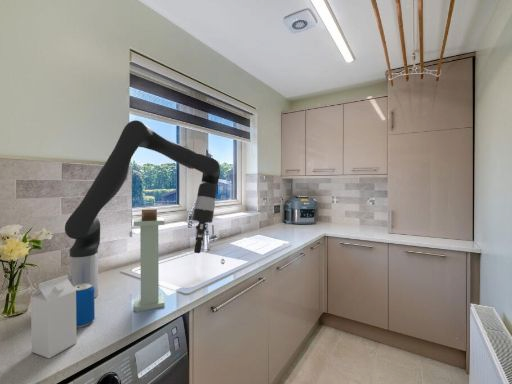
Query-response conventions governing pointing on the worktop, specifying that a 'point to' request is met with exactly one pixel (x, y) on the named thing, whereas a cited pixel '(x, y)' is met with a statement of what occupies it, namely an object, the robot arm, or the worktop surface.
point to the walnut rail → (149, 214)
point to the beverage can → (84, 304)
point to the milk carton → (53, 317)
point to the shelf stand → (149, 265)
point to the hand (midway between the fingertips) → (197, 252)
